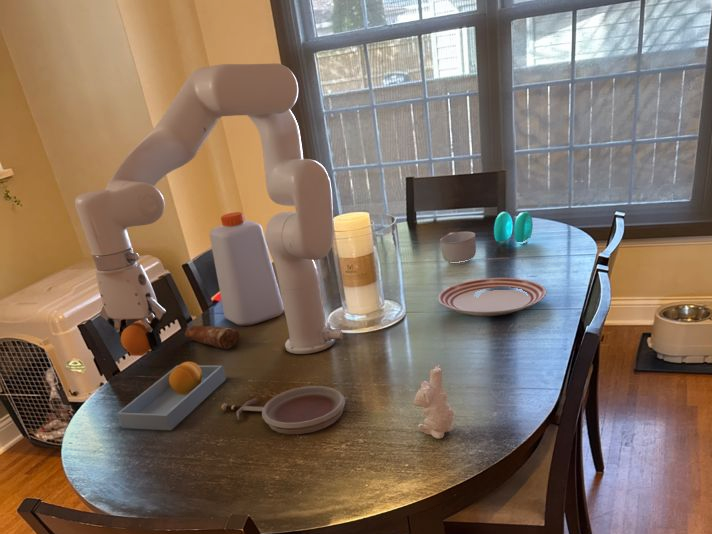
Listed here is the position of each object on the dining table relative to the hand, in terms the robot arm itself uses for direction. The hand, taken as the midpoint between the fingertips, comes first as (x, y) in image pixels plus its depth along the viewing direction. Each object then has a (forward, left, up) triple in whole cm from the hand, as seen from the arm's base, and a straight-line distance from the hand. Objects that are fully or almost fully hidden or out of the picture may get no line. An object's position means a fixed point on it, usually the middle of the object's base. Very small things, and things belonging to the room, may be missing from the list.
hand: (143, 347), depth 138 cm
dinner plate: (-61, -62, -15) cm, 89 cm away
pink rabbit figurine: (-62, +5, -15) cm, 64 cm away
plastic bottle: (+6, -57, -15) cm, 60 cm away
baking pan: (-1, -4, -15) cm, 15 cm away
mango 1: (0, 0, -1) cm, 1 cm away
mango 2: (-1, -10, -14) cm, 17 cm away
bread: (+9, -36, -15) cm, 40 cm away
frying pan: (-28, 0, -15) cm, 32 cm away
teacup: (-44, -103, -15) cm, 113 cm away
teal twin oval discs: (-59, -119, -15) cm, 134 cm away
